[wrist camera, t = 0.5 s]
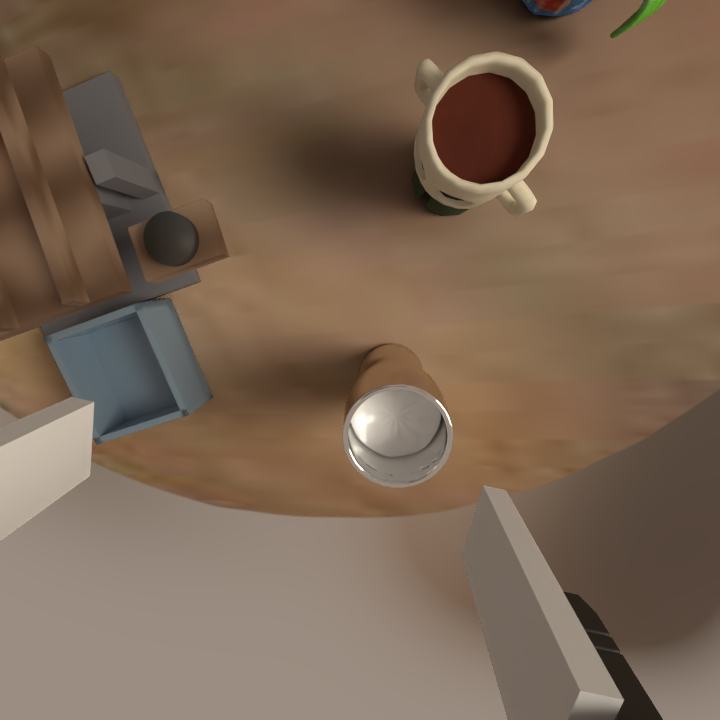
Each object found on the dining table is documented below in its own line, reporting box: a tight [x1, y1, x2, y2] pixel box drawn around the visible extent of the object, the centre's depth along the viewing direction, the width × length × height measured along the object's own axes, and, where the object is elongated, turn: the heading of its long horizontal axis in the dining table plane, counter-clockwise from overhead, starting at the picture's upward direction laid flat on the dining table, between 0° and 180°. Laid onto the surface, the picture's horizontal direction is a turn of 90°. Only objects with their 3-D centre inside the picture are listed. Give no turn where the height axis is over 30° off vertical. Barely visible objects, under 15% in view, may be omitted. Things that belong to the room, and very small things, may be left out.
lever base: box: [40, 71, 201, 336], centre depth 33 cm, size 18×16×7 cm
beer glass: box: [343, 344, 453, 488], centre depth 31 cm, size 7×7×15 cm
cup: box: [44, 299, 213, 444], centre depth 37 cm, size 10×9×5 cm
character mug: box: [413, 51, 553, 216], centre depth 28 cm, size 11×7×13 cm, turn 41°
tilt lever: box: [0, 45, 230, 341], centre depth 29 cm, size 18×20×6 cm
